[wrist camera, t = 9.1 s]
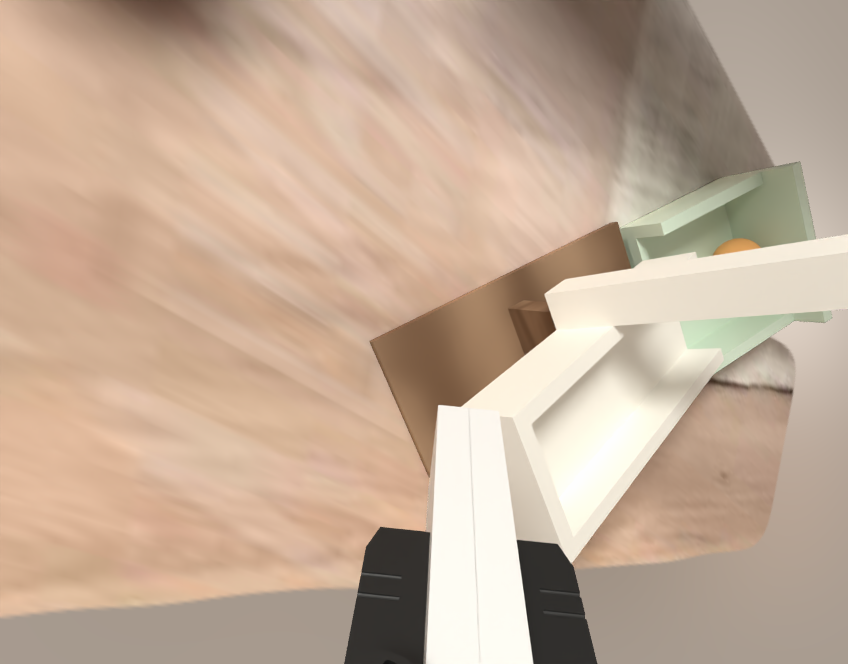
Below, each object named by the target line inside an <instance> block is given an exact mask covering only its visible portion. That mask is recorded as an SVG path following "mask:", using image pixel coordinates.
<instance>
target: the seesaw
mask: <svg viewBox="0 0 848 664" xmlns="http://www.w3.org/2000/svg"><path fill="white" fill-rule="evenodd" d="M544 295H545V298H546V301H547V304H548V307H549V310H550V313H551V316H552V319H553V321H554V324H555V327H556V331H555V332H553V333H552V334H551V335H550V336H549V337H547V338H546V339H545V340H544V341H542V342H541V343H540V344H539V345H537V346H536V347H535V348H534V349H532V350H531V351H530V352H529V353H527V354H526V355H525V356H524V357H522V358H521V359H520V360H519V361H517V362H516V363H515V364H514V365H512V366H511V367H510V368H509V369H508V370H506V371H505V372H504V373H503V374H501V375H500V376H499V377H498V378H496V379H495V380H494V381H493V382H491V383H490V384H489V385H488V386H486V387H485V388H484V389H483V390H481V391H480V392H479V393H478V394H476V395H475V396H474V397H473V398H471V399H470V400H469V401H468V402H467V403H465V404H464V405H463V406H462V407H465V408H474V409H484V410H494V411H499V415H500V422H501V430H502V437H503V444H504V452H505V459H506V466H507V474H508V481H509V489H510V496H511V503H512V511H513V518H514V525H515V533H516V540H525V541H535V542H544V543H554V544H558V545H559V547H560V548H561V549H562V551H563V552H564V554H565V555H566V557H567V558H568V560H569V561H570V562H571V564H572V562H573V561H574V560H575V558H576V557H577V556H578V554H579V553H580V552H581V550H582V549H583V548H584V546H585V545H586V544H587V542H588V541H589V540H590V538H591V537H592V536H593V534H594V533H595V532H596V530H597V529H598V528H599V526H600V525H601V524H602V522H603V521H604V520H605V518H606V517H607V516H608V514H609V513H610V512H611V510H612V509H613V508H614V506H615V505H616V504H617V502H618V501H619V500H620V498H621V497H622V496H623V494H624V493H625V492H626V490H627V489H628V488H629V486H630V485H631V484H632V482H633V481H634V480H635V478H636V477H637V476H638V474H639V473H640V472H641V470H642V469H643V468H644V466H645V465H646V464H647V462H648V461H649V460H650V458H651V457H652V456H653V454H654V453H655V452H656V450H657V449H658V448H659V446H660V445H661V444H662V442H663V441H664V440H665V438H666V437H667V436H668V434H669V433H670V432H671V430H672V429H673V428H674V426H675V425H676V424H677V422H678V421H679V420H680V418H681V417H682V416H683V414H684V413H685V412H686V410H687V409H688V408H689V406H690V405H691V404H692V402H693V401H694V400H695V398H696V397H697V396H698V394H699V393H700V392H701V390H702V389H703V388H704V386H705V385H706V384H707V382H708V381H709V380H710V378H711V377H712V376H713V374H714V373H715V372H716V370H717V369H718V368H719V366H720V365H721V364H722V362H723V361H724V357H723V354H722V350H721V348H711V349H687V346H686V343H685V339H684V336H683V332H682V329H681V325H680V322H679V321H692V320H706V319H720V318H734V317H748V316H762V315H776V314H790V313H804V312H818V311H832V310H847V309H848V234H847V235H840V236H834V237H828V238H822V239H815V240H808V241H802V242H796V243H790V244H783V245H777V246H771V247H764V248H758V249H752V250H746V251H739V252H733V253H727V254H720V255H714V256H708V257H702V258H697V255H696V252H692V253H686V254H680V255H674V256H668V257H662V258H656V259H650V260H644V261H642V262H640V263H639V264H638V265H637V266H635V267H634V268H632V269H626V270H620V271H613V272H607V273H601V274H595V275H588V276H582V277H576V278H569V279H565V280H563V281H562V282H560V283H559V284H558V285H556V286H555V287H553V288H552V289H551V290H549V291H548V292H546V293H545V294H544Z"/></svg>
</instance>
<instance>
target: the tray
mask: <svg viewBox="0 0 848 664" xmlns="http://www.w3.org/2000/svg"><path fill="white" fill-rule="evenodd" d="M619 229H620V232H621V235H622V239H623V242H624V246H625V249H626V252H627V256H628V259H629V262H630V266H631V269H632V268H634V267H635V266H637V265H638V264H639V263H640V262H642V261H644V260H650V259H656V258H662V257H668V256H674V255H680V254H686V253H692V252H696V255H697V258H702V257H708V256H713V254H714V252H715V250H716V249H717V248H718V247H719V246H720V245H721V244H723V243H724V242H726V241H728V240H731V239H736V238H744V239H749V240H751V241H753V242H755V243H757V244H758V245H759V246H760V247H761V248H764V247H771V246H777V245H783V244H790V243H796V242H802V241H808V240H815V239H816V236H815V231H814V227H813V221H812V216H811V211H810V207H809V202H808V197H807V192H806V187H805V182H804V177H803V172H802V168H801V163H800V162H795V163H790V164H785V165H780V166H775V167H770V168H765V169H760V170H755V171H751V172H746V173H741V174H736V175H731V176H726V177H721V178H719V179H717V180H715V181H713V182H711V183H709V184H707V185H705V186H703V187H701V188H699V189H697V190H695V191H693V192H691V193H689V194H687V195H685V196H683V197H681V198H679V199H677V200H675V201H673V202H671V203H669V204H667V205H665V206H663V207H661V208H659V209H657V210H655V211H653V212H651V213H649V214H647V215H645V216H643V217H641V218H639V219H637V220H635V221H633V222H631V223H629V224H627V225H625V226H623V227H621V228H619ZM831 318H832V314H831V311H818V312H804V313H790V314H776V315H762V316H748V317H734V318H720V319H706V320H692V321H679V322H680V325H681V329H682V332H683V336H684V339H685V343H686V346H687V349H711V348H721V350H722V354H723V357H724V361H723V362H722V364H721V365H720V366H719V368H718V369H717V370H716V372H718V371H719V370H721V369H722V368H724V367H725V366H727V365H728V364H730V363H732V362H733V361H735V360H736V359H738V358H739V357H741V356H742V355H744V354H745V353H747V352H748V351H750V350H751V349H753V348H754V347H756V346H757V345H759V344H760V343H762V342H763V341H765V340H766V339H768V338H769V337H771V336H772V335H774V334H775V333H777V332H778V331H780V330H781V329H783V328H784V327H786V326H787V325H789V324H790V323H792V322H793V321H804V322H819V323H820V322H821V323H826V322H827V321H828V320H830V319H831ZM716 372H715V373H716ZM715 373H714V374H715Z"/></svg>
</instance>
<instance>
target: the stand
mask: <svg viewBox="0 0 848 664" xmlns="http://www.w3.org/2000/svg"><path fill="white" fill-rule="evenodd" d="M626 269H631V266H630V262H629V259H628V256H627V252H626V249H625V246H624V242H623V239H622V235H621V232H620V229H619V225H618V222H613V223H609V224H607V225H605V226H603V227H601V228H599V229H597V230H595V231H593V232H591V233H589V234H587V235H585V236H583V237H581V238H579V239H577V240H575V241H573V242H571V243H569V244H567V245H565V246H563V247H561V248H558V249H556V250H554V251H552V252H550V253H548V254H546V255H544V256H542V257H540V258H538V259H536V260H534V261H532V262H530V263H528V264H526V265H524V266H522V267H520V268H518V269H516V270H514V271H512V272H510V273H507V274H505V275H503V276H501V277H499V278H497V279H495V280H493V281H491V282H489V283H487V284H485V285H483V286H481V287H479V288H477V289H475V290H473V291H471V292H469V293H467V294H465V295H463V296H461V297H459V298H457V299H454V300H452V301H450V302H448V303H446V304H444V305H442V306H440V307H438V308H436V309H434V310H432V311H430V312H428V313H426V314H424V315H422V316H420V317H418V318H416V319H414V320H412V321H410V322H408V323H406V324H404V325H401V326H399V327H397V328H395V329H393V330H391V331H389V332H387V333H385V334H383V335H381V336H379V337H377V338H375V339H373V340H371V341H370V344H371V346H372V348H373V350H374V353H375V355H376V357H377V360H378V362H379V364H380V366H381V369H382V371H383V373H384V376H385V378H386V380H387V382H388V385H389V387H390V389H391V392H392V394H393V396H394V398H395V401H396V403H397V405H398V407H399V410H400V412H401V414H402V417H403V419H404V421H405V423H406V426H407V428H408V430H409V433H410V435H411V437H412V439H413V442H414V444H415V446H416V449H417V451H418V453H419V455H420V458H421V460H422V462H423V465H424V467H425V469H426V471H427V474H428V476H429V478H430V471H431V463H432V454H433V446H434V437H435V429H436V420H437V412H438V405H445V406H455V407H462V406H463V405H464V404H465V403H467V402H468V401H469V400H470V399H471V398H473V397H474V396H475V395H476V394H478V393H479V392H480V391H481V390H483V389H484V388H485V387H486V386H488V385H489V384H490V383H491V382H493V381H494V380H495V379H496V378H498V377H499V376H500V375H501V374H503V373H504V372H505V371H506V370H508V369H509V368H510V367H511V366H512V365H514V364H515V363H516V362H517V361H519V360H520V359H521V358H522V357H524V356H525V355H526V354H527V353H529V352H530V351H531V350H532V349H534V348H535V347H536V346H537V345H539V344H540V343H541V342H542V341H544V340H545V339H546V338H547V337H549V336H550V335H551V334H552V333H553V332H555V331H556V327H555V324H554V321H553V319H552V316H551V313H550V310H549V307H548V304H547V301H546V298H545V295H544V294H545V293H546V292H548V291H549V290H551V289H552V288H553V287H555V286H556V285H558V284H559V283H560V282H562V281H563V280H565V279H569V278H576V277H582V276H588V275H595V274H601V273H607V272H613V271H620V270H626Z"/></svg>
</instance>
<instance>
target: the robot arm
mask: <svg viewBox="0 0 848 664" xmlns="http://www.w3.org/2000/svg"><path fill="white" fill-rule="evenodd" d="M344 664H597V661H596V657H595V653H594V649H593V644H592V640H591V636H590V632H589V628H588V624H587V620H586V619H585V612H584V608H583V604H582V600H581V598H580V591H579V587H578V583H577V579H576V575H575V571H574V567H573V565H572V564H571V562H570V561H569V560H568V558H567V557H566V555H565V554H564V552H563V551H562V549H561V548H560V547H559V545H558V544H554V543H544V542H535V541H525V540H516V533H515V525H514V518H513V511H512V503H511V496H510V489H509V481H508V474H507V466H506V459H505V452H504V444H503V437H502V430H501V422H500V415H499V411H494V410H484V409H474V408H465V407H455V406H445V405H438V412H437V420H436V429H435V437H434V446H433V454H432V463H431V471H430V480H429V488H428V503H427V519H426V532H423V531H414V530H404V529H394V528H385V527H380V528H379V530H378V531H377V533H376V534H375V535H374V537H373V538H372V539H371V541H370V542H369V544H368V545H367V546H366V550H365V556H364V561H363V567H362V573H361V577H360V583H359V588H358V594H357V599H356V604H355V610H354V615H353V620H352V625H351V631H350V636H349V641H348V647H347V652H346V657H345V663H344Z"/></svg>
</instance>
